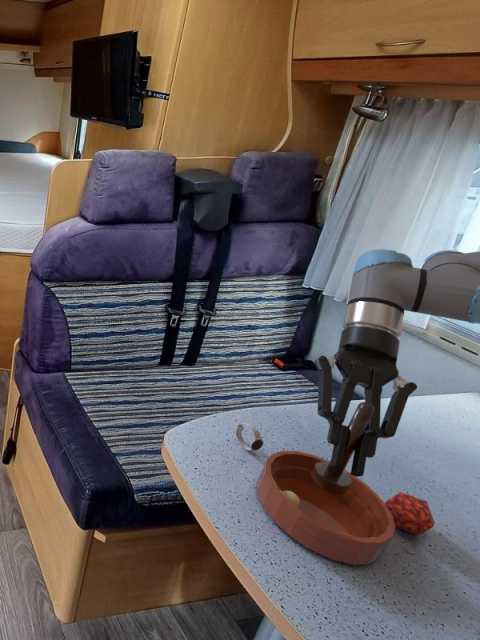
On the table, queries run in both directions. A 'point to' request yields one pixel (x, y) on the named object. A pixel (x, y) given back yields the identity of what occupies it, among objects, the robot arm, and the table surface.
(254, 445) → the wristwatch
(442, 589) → the table surface
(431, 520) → the decorative stone
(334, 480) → the wooden handled stamp
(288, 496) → the dough ball
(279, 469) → the bowl
